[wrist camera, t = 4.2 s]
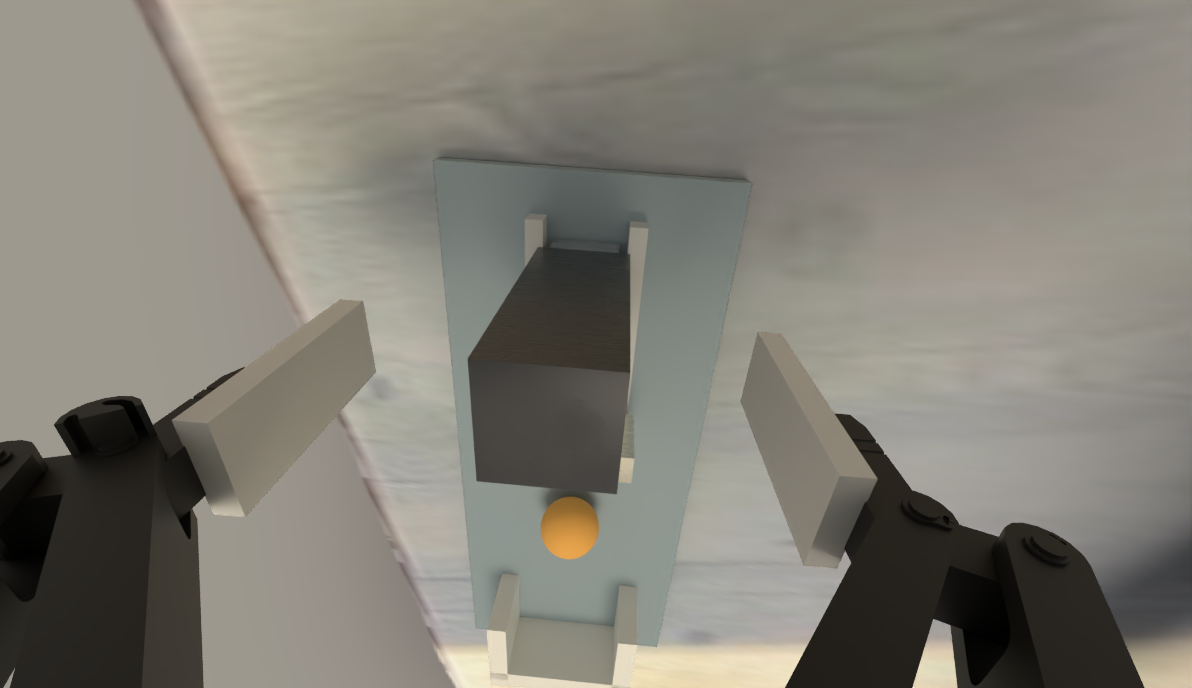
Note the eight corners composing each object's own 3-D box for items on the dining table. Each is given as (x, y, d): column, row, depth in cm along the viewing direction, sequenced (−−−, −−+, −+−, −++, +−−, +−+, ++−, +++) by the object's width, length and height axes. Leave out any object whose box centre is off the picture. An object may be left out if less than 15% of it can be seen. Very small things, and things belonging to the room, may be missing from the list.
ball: (574, 475, 29) (567, 520, 26) (612, 508, 30) (609, 556, 27) (534, 501, 30) (523, 547, 27) (571, 532, 31) (565, 580, 28)
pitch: (440, 157, 22) (422, 162, 20) (747, 179, 21) (759, 188, 19) (479, 615, 37) (471, 644, 35) (656, 633, 37) (657, 663, 35)
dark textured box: (522, 236, 22) (427, 354, 12) (651, 246, 22) (671, 376, 11) (523, 412, 26) (457, 609, 16) (631, 422, 26) (631, 627, 16)
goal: (502, 573, 33) (486, 629, 30) (636, 586, 33) (637, 645, 29) (504, 627, 36) (490, 684, 33) (628, 639, 36) (627, 699, 32)
